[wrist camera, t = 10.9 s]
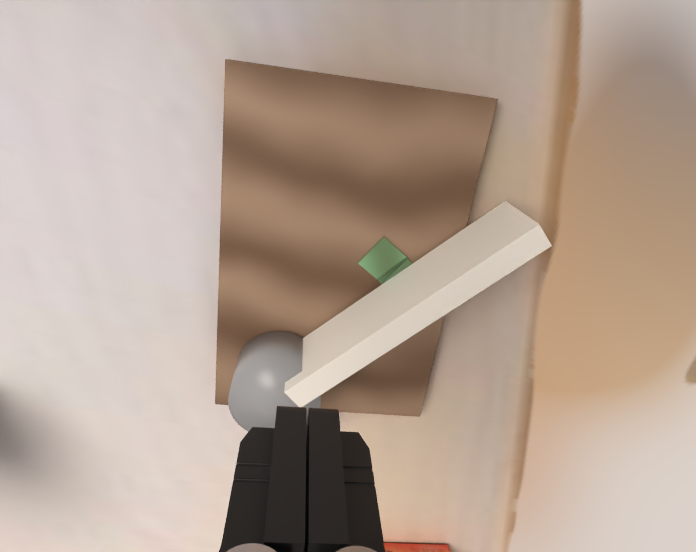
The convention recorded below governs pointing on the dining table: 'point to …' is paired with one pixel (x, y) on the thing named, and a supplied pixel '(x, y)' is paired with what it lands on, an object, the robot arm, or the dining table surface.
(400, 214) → the brown wooden board
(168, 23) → the dining table surface
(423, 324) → the lever handle
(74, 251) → the dining table surface
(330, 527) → the robot arm
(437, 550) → the cracker box
